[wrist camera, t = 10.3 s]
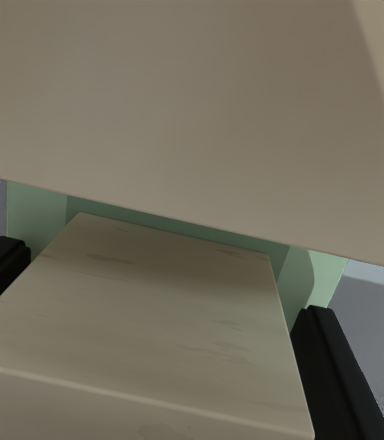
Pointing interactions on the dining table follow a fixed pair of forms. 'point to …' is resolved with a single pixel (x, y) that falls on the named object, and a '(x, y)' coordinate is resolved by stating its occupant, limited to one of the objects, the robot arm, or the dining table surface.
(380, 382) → the dining table surface
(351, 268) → the dining table surface
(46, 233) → the word board
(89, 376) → the tile
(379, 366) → the dining table surface
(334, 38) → the tile
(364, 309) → the dining table surface
